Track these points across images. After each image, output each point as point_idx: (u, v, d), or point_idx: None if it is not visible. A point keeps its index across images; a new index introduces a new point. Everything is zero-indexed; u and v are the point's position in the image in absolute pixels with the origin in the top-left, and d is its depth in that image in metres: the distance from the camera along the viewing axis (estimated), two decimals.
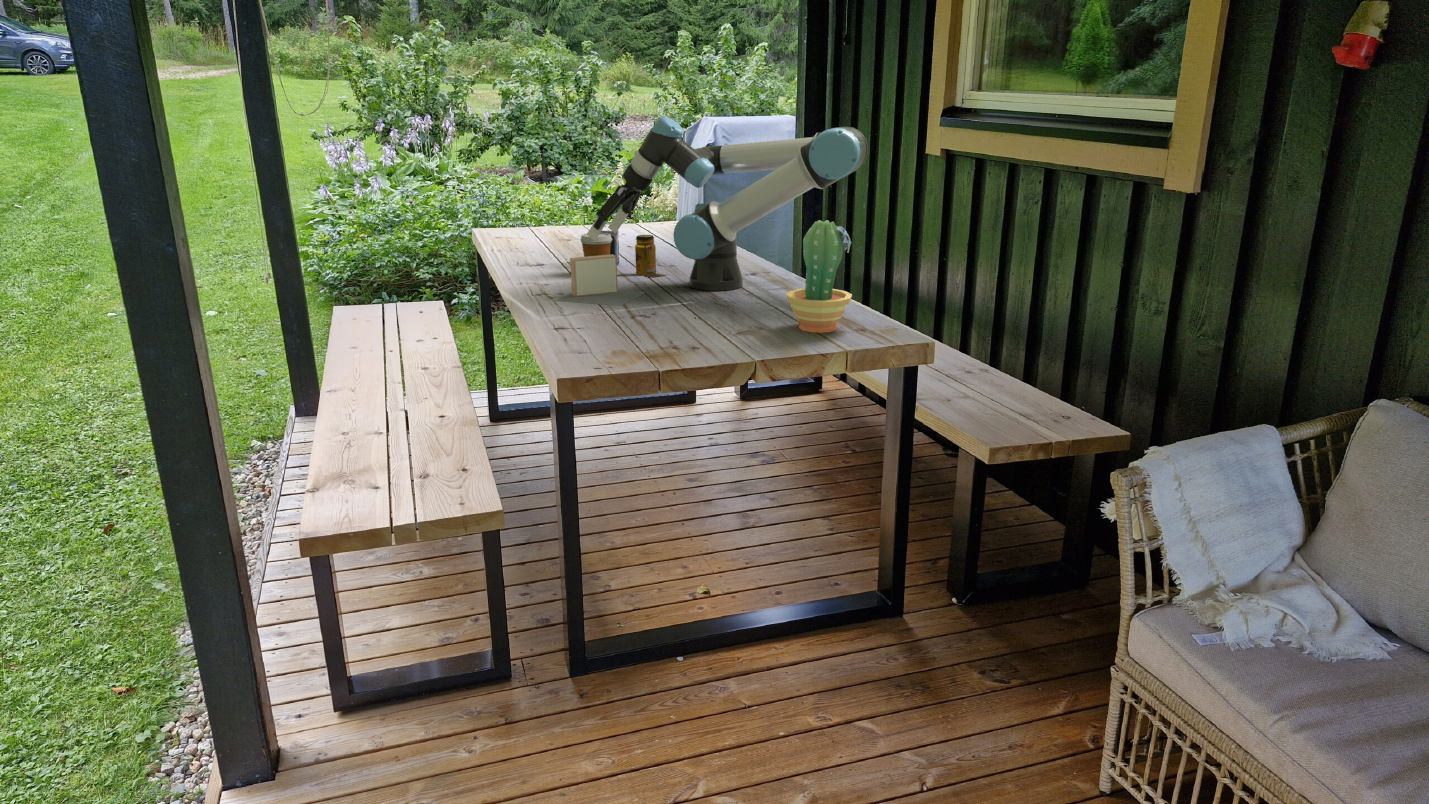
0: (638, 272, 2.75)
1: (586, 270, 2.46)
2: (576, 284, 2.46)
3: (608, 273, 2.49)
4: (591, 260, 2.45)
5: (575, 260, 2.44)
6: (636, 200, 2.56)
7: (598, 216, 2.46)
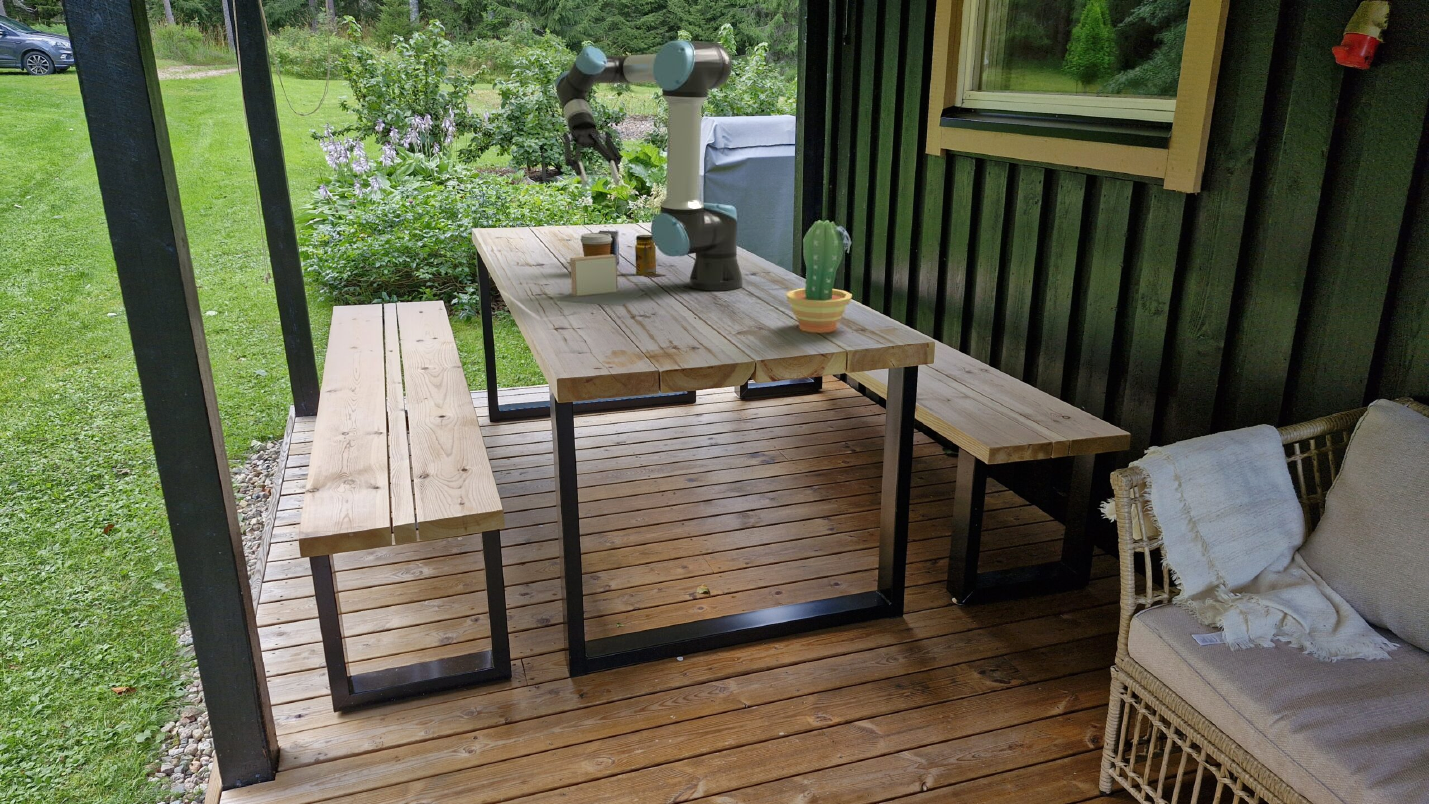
0: (638, 272, 2.75)
1: (586, 270, 2.46)
2: (576, 284, 2.46)
3: (608, 273, 2.49)
4: (591, 260, 2.45)
5: (575, 260, 2.44)
6: (611, 146, 2.59)
7: None
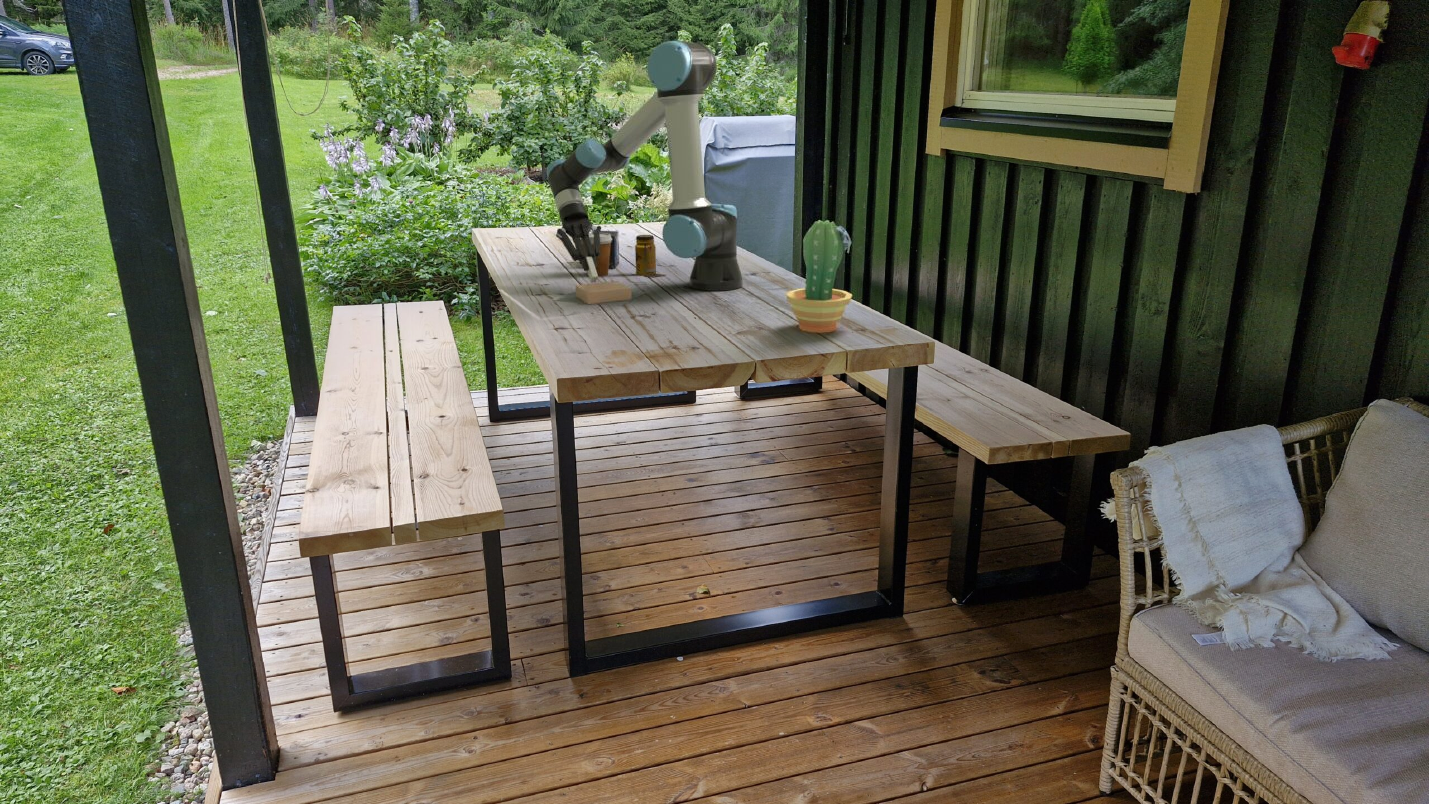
0: (638, 272, 2.75)
1: None
2: (581, 299, 2.44)
3: None
4: None
5: (589, 303, 2.38)
6: (595, 239, 2.54)
7: None
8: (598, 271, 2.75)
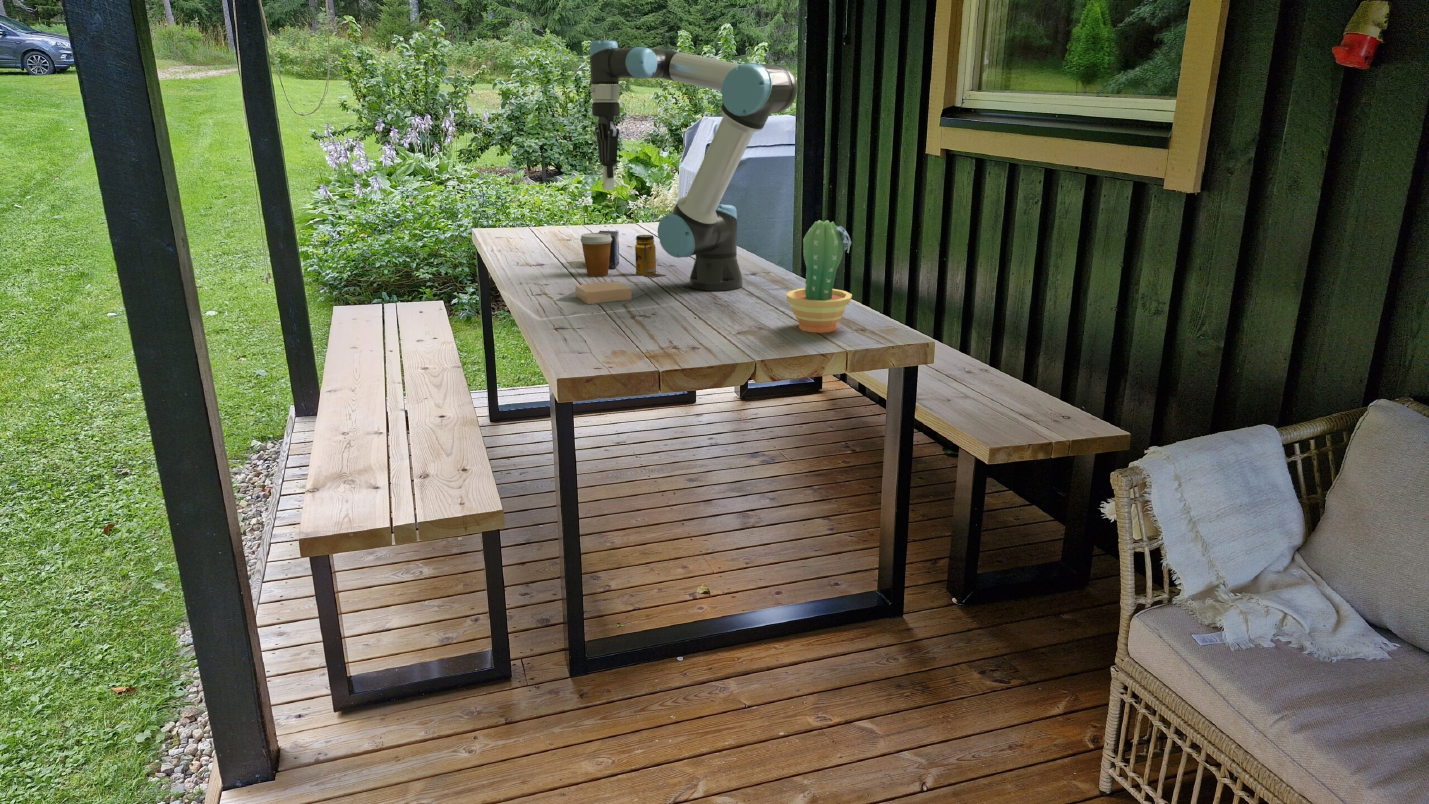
0: (638, 272, 2.75)
1: None
2: (581, 299, 2.44)
3: None
4: None
5: (589, 303, 2.38)
6: None
7: (604, 167, 2.56)
8: (598, 271, 2.75)
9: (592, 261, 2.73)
